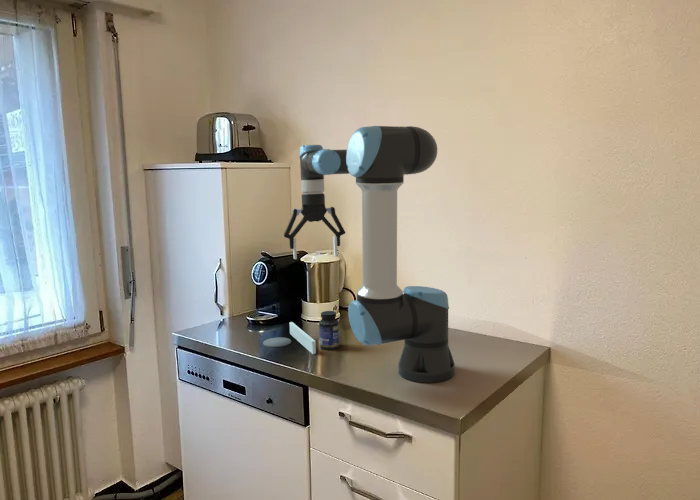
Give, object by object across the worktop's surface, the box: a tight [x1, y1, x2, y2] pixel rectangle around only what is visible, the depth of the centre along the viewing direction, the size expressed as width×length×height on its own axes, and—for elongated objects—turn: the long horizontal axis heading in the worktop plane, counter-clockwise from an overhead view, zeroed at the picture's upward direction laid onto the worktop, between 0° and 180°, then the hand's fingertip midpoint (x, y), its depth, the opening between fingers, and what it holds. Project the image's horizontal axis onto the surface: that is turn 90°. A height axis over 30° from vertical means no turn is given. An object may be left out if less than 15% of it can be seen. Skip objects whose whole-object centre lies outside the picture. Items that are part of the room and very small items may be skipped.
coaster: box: [262, 336, 292, 348], centre depth 173 cm, size 9×9×1 cm
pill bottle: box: [318, 310, 340, 351], centre depth 167 cm, size 6×6×11 cm
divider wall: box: [289, 321, 317, 355], centre depth 172 cm, size 23×1×4 cm, turn 24°
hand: (315, 257), depth 178 cm, fingers open, 13 cm apart
